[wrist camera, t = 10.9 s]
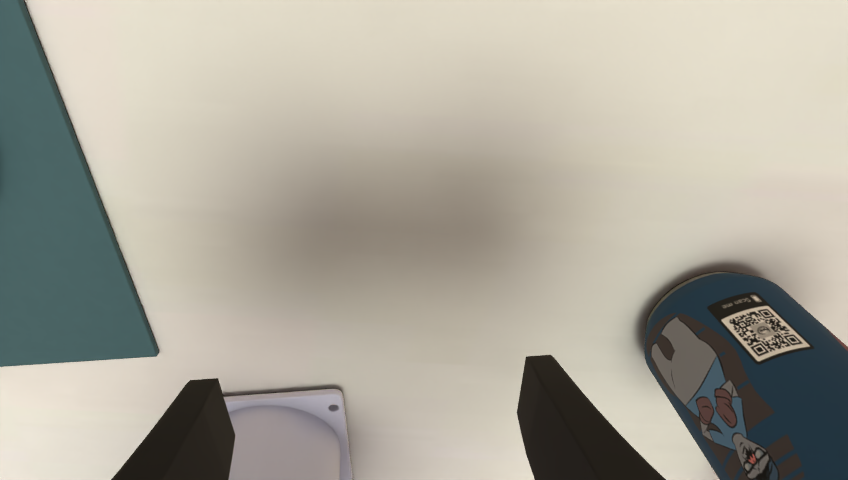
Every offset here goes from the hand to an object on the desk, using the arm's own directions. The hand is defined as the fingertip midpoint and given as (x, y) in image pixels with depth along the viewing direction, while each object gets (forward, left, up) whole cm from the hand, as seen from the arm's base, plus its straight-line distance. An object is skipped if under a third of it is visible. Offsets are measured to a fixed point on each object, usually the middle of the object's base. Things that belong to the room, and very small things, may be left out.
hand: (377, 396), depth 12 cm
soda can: (-7, -16, -10) cm, 20 cm away
